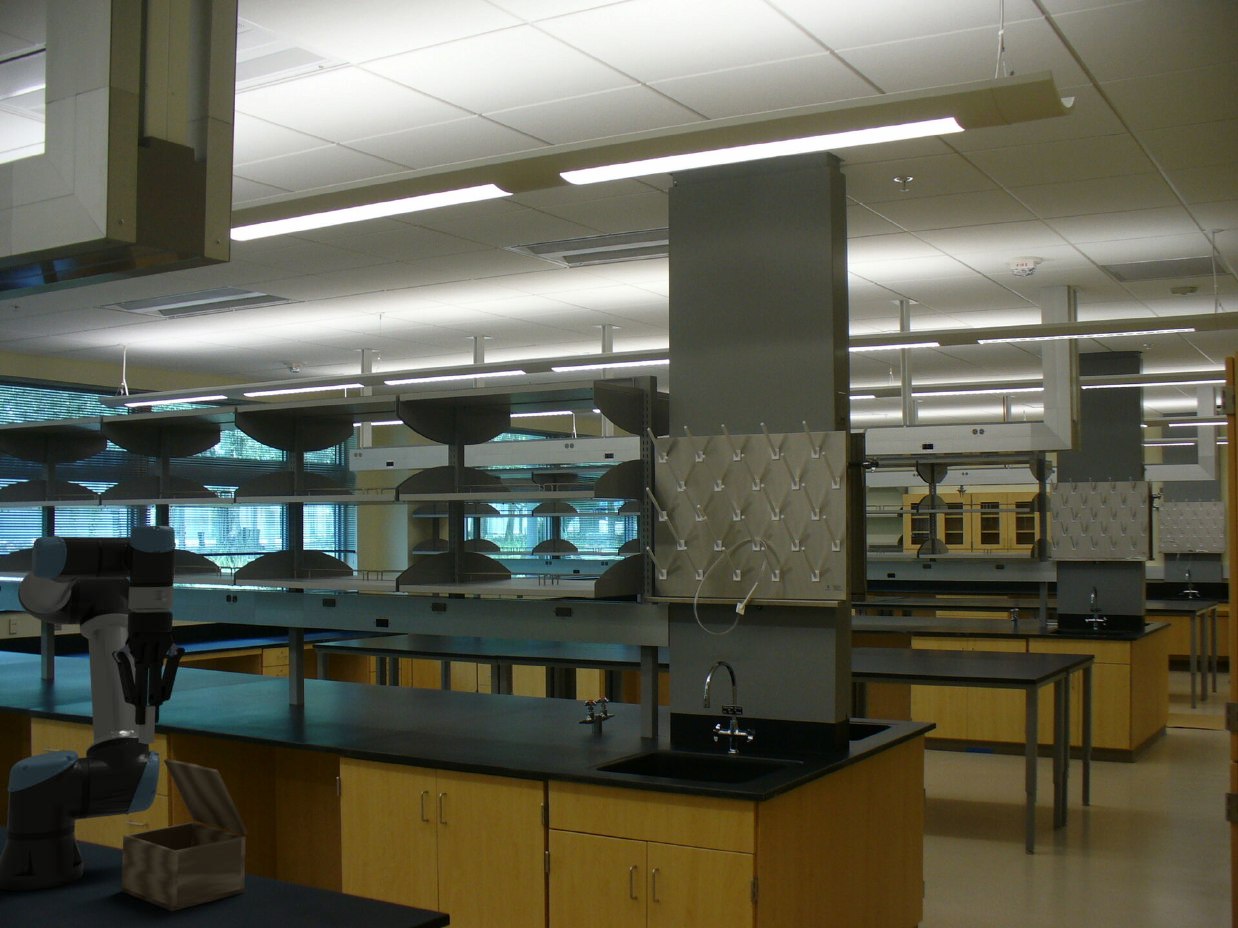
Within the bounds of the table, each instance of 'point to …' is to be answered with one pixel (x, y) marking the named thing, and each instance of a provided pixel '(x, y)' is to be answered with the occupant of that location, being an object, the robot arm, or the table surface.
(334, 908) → the table surface
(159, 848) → the brown wooden box
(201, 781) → the lid
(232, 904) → the table surface
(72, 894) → the table surface
